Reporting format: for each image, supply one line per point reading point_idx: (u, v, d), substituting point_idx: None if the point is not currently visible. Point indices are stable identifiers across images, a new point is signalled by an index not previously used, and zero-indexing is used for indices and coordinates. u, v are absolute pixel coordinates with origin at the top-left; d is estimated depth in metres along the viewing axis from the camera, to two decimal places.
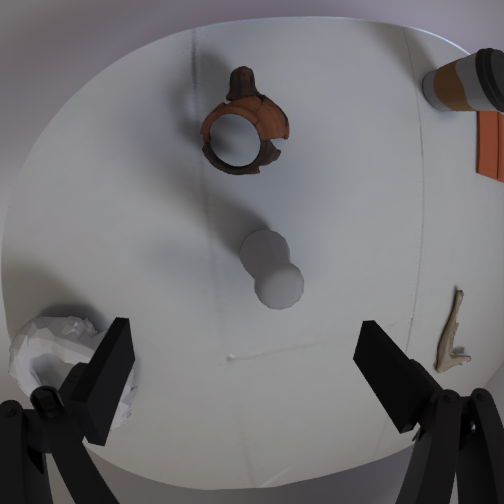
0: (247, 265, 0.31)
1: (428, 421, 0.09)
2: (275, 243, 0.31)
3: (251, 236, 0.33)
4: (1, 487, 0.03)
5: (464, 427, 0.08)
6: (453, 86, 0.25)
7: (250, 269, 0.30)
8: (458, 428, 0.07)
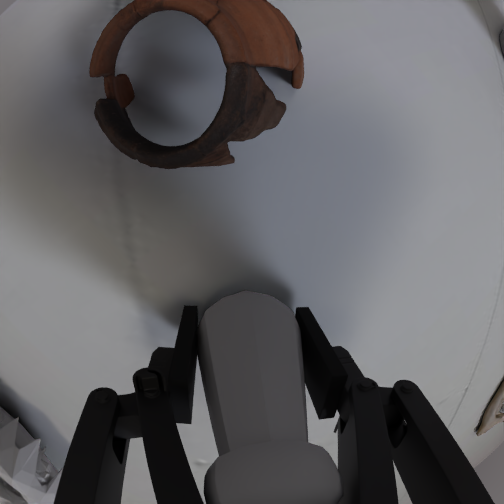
0: (204, 384, 0.12)
1: (346, 412, 0.10)
2: (268, 341, 0.12)
3: (216, 310, 0.14)
4: (71, 471, 0.05)
5: (387, 421, 0.10)
6: None
7: (208, 403, 0.11)
8: (382, 417, 0.09)
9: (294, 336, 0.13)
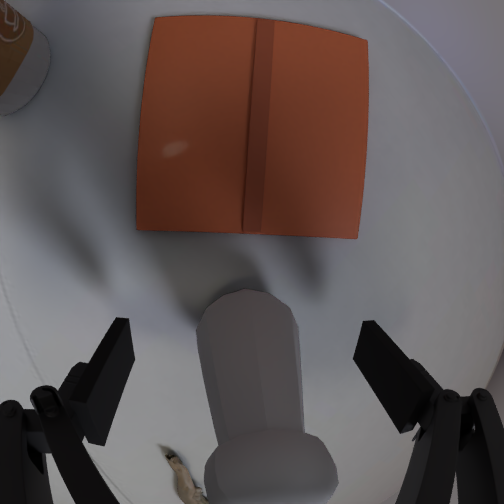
0: (205, 379, 0.13)
1: (428, 421, 0.09)
2: (267, 336, 0.12)
3: (217, 308, 0.15)
4: (1, 487, 0.03)
5: (464, 428, 0.08)
6: None
7: (208, 396, 0.12)
8: (458, 428, 0.07)
9: (291, 332, 0.14)
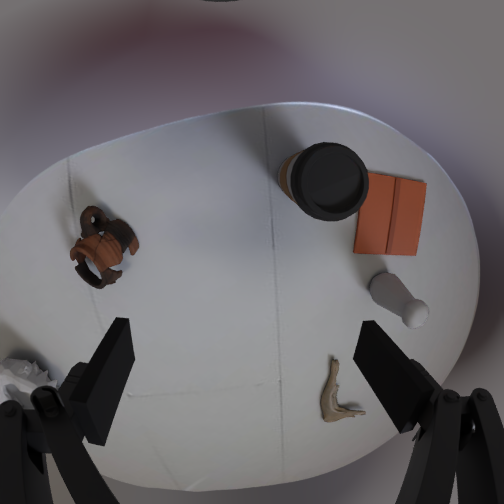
0: (383, 299, 0.42)
1: (428, 421, 0.09)
2: (401, 284, 0.42)
3: (381, 278, 0.44)
4: (1, 487, 0.03)
5: (464, 428, 0.08)
6: (286, 188, 0.34)
7: (388, 303, 0.41)
8: (458, 428, 0.07)
9: (403, 284, 0.43)
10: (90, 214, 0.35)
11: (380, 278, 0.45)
